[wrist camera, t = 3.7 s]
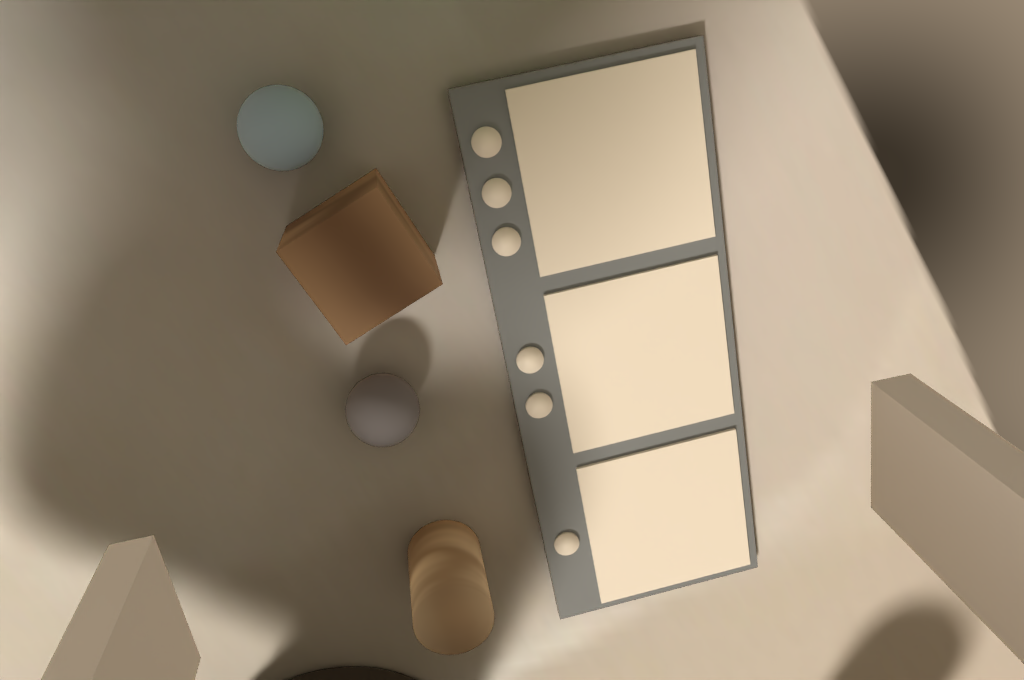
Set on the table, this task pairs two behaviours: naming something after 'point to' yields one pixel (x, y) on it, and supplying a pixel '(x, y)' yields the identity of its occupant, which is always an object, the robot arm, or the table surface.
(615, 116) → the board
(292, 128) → the dusty blue ball
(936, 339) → the table surface
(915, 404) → the robot arm
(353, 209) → the walnut block
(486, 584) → the beech cylinder
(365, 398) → the charcoal ball
